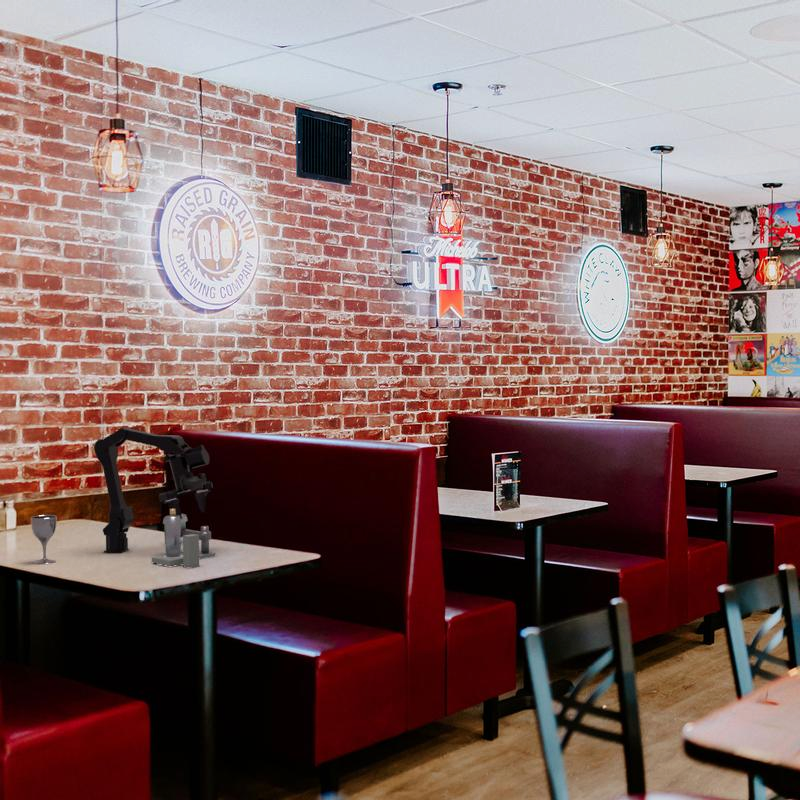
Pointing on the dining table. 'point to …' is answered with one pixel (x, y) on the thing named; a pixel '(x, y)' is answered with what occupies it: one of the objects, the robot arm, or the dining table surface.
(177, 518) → the grey bottle
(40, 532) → the wine glass
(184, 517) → the food container
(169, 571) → the dining table surface
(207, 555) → the press
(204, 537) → the lever
